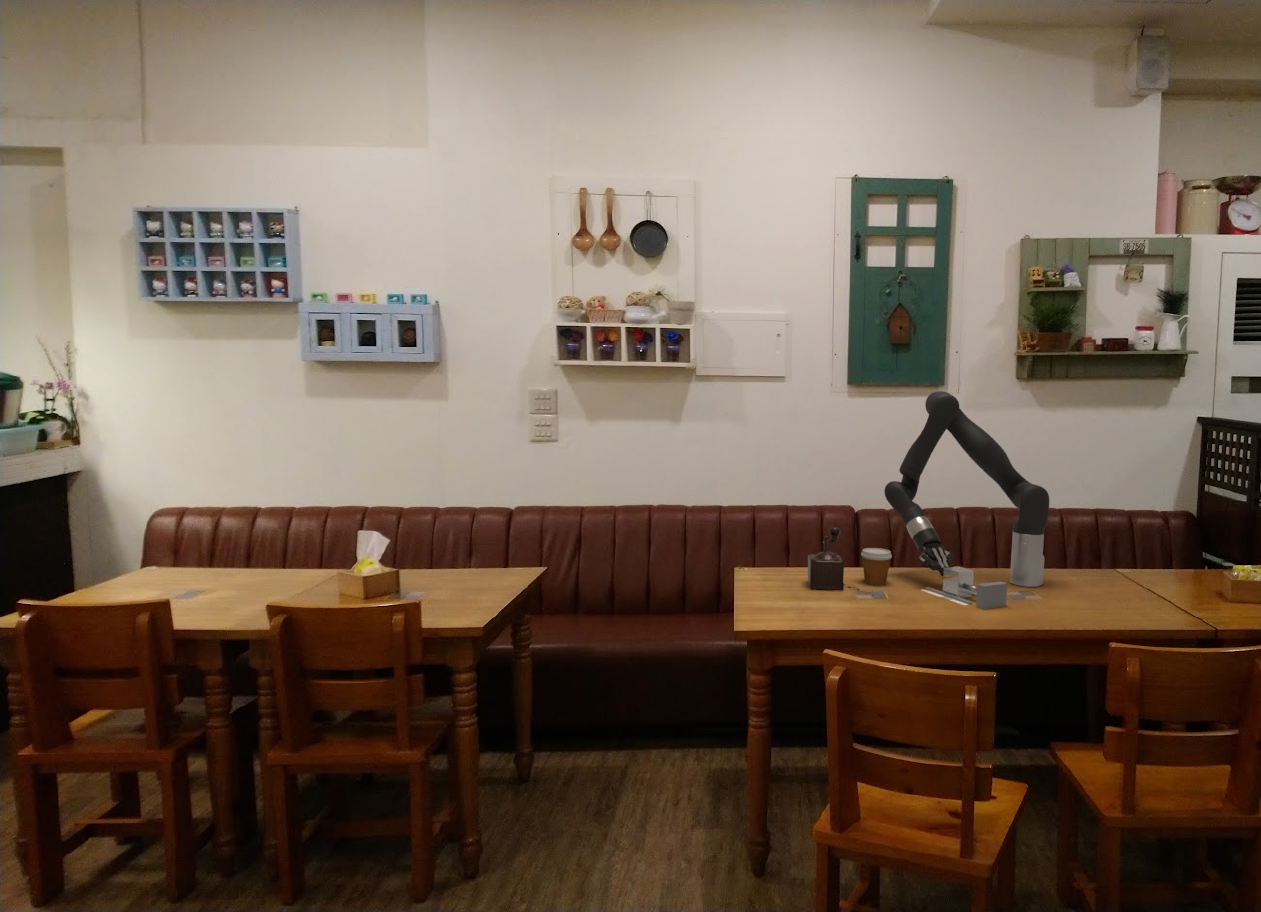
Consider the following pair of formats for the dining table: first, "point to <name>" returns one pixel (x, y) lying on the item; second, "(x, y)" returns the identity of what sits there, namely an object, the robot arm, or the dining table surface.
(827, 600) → the dining table surface
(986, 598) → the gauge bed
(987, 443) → the robot arm
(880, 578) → the disposable coffee cup
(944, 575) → the gauge carriage
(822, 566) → the manual coffee grinder
